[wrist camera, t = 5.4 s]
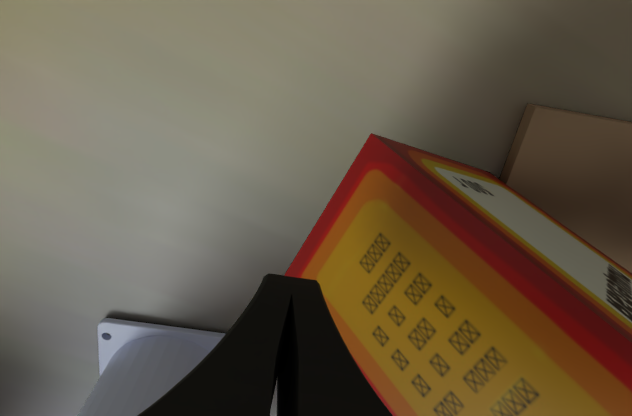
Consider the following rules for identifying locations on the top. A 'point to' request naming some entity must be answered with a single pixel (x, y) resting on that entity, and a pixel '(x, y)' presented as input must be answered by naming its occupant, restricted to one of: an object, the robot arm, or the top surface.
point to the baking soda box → (468, 293)
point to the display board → (577, 174)
